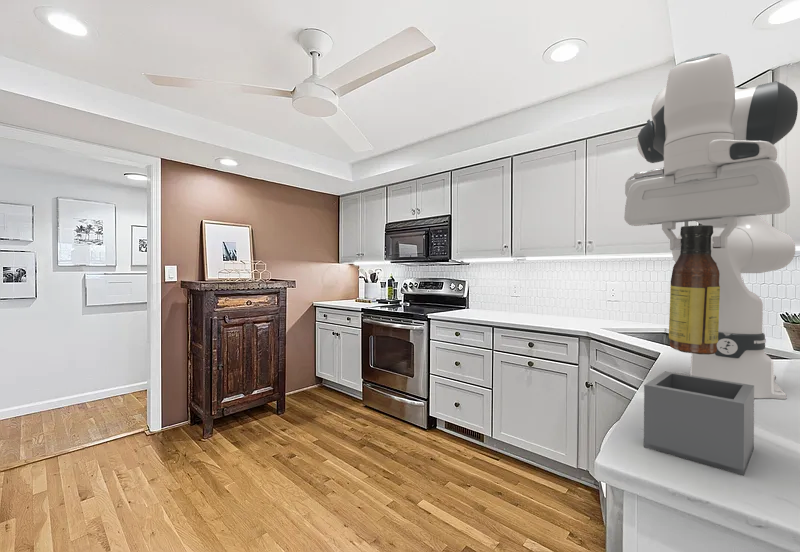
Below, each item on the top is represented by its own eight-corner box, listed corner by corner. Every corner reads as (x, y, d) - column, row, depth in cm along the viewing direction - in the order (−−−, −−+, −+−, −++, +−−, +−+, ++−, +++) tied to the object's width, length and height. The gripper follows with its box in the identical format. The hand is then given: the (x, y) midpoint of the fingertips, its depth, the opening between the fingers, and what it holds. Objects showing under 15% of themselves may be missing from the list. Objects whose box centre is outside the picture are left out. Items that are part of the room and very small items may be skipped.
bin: (665, 427, 68) (665, 371, 67) (753, 449, 59) (754, 385, 59) (643, 448, 59) (644, 384, 59) (743, 478, 51) (744, 403, 51)
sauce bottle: (704, 348, 63) (713, 227, 61) (726, 358, 56) (737, 224, 55) (659, 344, 64) (667, 227, 63) (675, 353, 58) (685, 223, 57)
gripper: (618, 171, 65) (618, 251, 65) (786, 139, 50) (786, 244, 50) (631, 177, 70) (631, 252, 70) (791, 149, 54) (791, 246, 54)
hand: (697, 249), depth 60 cm, fingers open, 4 cm apart
